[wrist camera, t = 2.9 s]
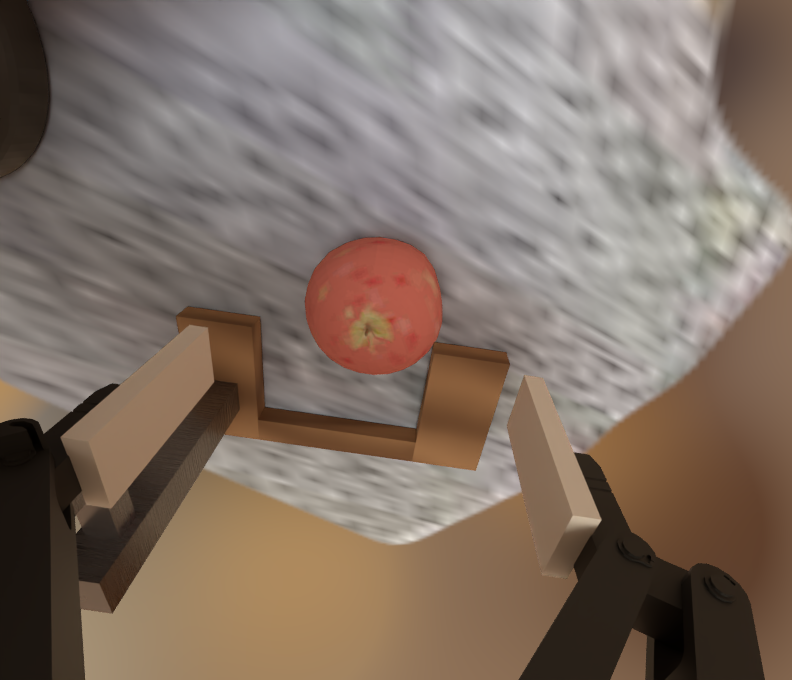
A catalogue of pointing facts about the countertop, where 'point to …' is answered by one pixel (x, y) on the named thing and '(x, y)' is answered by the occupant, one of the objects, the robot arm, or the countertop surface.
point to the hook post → (147, 502)
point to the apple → (374, 305)
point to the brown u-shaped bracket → (429, 443)
